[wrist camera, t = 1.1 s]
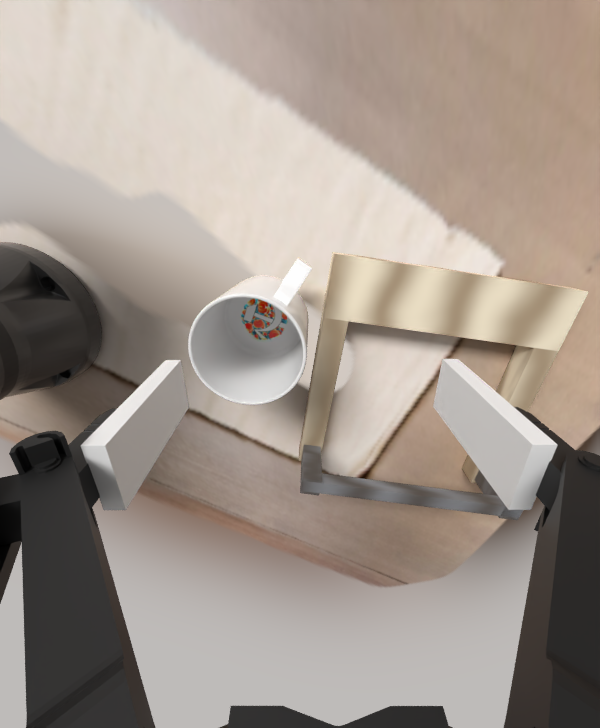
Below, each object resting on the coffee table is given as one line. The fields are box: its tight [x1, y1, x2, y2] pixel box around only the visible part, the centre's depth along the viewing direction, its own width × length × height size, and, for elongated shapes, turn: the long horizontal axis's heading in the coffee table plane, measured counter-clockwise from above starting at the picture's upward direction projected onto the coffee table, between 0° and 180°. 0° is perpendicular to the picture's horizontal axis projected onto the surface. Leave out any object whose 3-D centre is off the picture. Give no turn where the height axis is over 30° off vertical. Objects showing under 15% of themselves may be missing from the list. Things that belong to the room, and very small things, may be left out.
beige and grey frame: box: [299, 252, 588, 520], centre depth 32 cm, size 24×24×8 cm
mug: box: [188, 257, 312, 405], centre depth 28 cm, size 12×9×11 cm
